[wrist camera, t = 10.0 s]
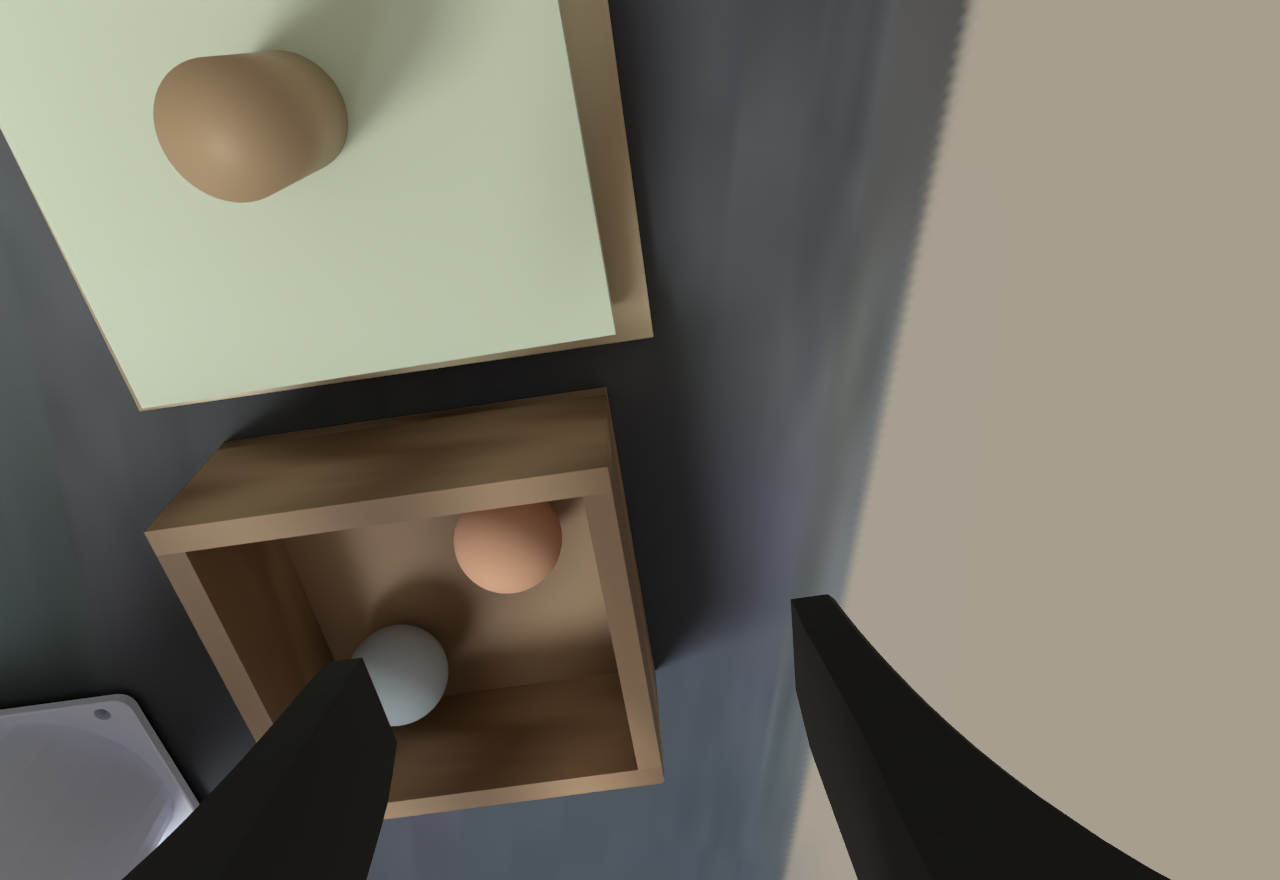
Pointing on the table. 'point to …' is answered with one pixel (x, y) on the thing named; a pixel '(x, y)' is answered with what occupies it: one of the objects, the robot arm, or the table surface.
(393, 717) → the ball
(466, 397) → the table surface
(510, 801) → the box
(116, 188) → the lid
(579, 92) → the board
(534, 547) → the ball
